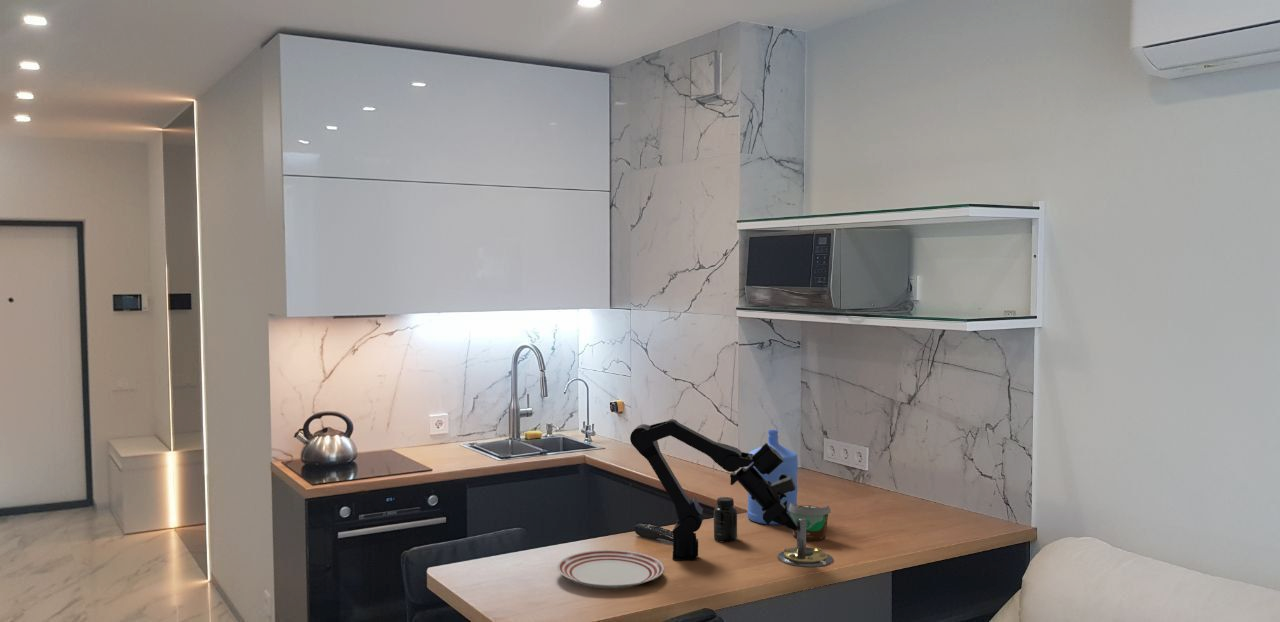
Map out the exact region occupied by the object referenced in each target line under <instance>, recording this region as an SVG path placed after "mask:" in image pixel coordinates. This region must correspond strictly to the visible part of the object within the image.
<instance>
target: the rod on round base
mask: <svg viewBox="0 0 1280 622" xmlns="http://www.w3.org/2000/svg"><path fill="white" fill-rule="evenodd" d="M797 527H798V529H797V539H796V547H789V548H784V550H783V551H784V558H786V559H787V560H790V561H793V562H798V563H819V561H821V560H822V561H825V560H826V559H827V554H828V553H827V552H826V551H824V550H822V548H821V547H815V548H814V547H807V542H806V519H804V518H798V519H797ZM806 548H809V549H812V550H813V554H812V555H806Z"/></svg>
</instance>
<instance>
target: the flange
mask: <svg viewBox="0 0 1280 622" xmlns="http://www.w3.org/2000/svg"><path fill="white" fill-rule="evenodd" d="M809 548H810V547H808V548H806V555H812V554H813V550H812V549H809ZM826 554H827V559H826V560H825V561H822V560H821V561H819V563H798V562H793V561H790V560H787V559H786V558H784V550H783V551H781V552H780V553H778V554H777V559H778V561H780V562H781V561H782V562H781V563H783V562H784V563H783V564H786V565H790V566H794V567H799V568H801V567H802V568H817V567H818V568H820V567H824V566H828V565H830V564H832V563H833V561H834V558H833V556H832V555H830V554H828V553H826Z"/></svg>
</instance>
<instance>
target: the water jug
mask: <svg viewBox="0 0 1280 622" xmlns="http://www.w3.org/2000/svg"><path fill="white" fill-rule="evenodd" d="M767 432H768V435H767V439H768V440H767V442H766V443H767V444H768V445H769V446H771V447H772V448H773V449H774V450H776V451H777V452H778V453H779V454H780V455H781V456H782V458H783V459H784V462H782V463H781V464H780V465H779V466H778V467H777V468H776V469H775V470H774V471H772V472H771V473H770V474H769V475H768V474H761V473H760V472H759V471H758V470H757V468H756V467H755V466H753V467H754V468H755V469H756V470H757V471H758V473H759V474H760V475H761V476H762V477H763V478H764V479H765V480H766V481H767V480H768V481H770V482H771V483H774V482H776V481H779V476H780V475H781V474H784V473H785V474H786V475H787V476H788V477H789V476H791V477H792V479H793V482H794V484H795V486H796V487H795V490H794V491H792V492H787V493H786V494H787V496H786V497H783V498H782V499H781V500H780V501H781V502H782V503H784V502H785V501H786V500H787V501H788V502H787V509H788V511H789V505H790V504H792V505H798V503H797V502H798V490H799V489H798V487H799V486H798V467H799V459H798V454H797V453H796V452H795V451H793V450H791V449H788V448H787V447H785V446H783V445H781V444H779V435H778V434H779V430H773V429H772V430H771V429H770V430H767ZM762 446H763V445H761V446H759V447H757V448H755V449H753V450H750V451H749V454H755V453H756V452H757V451H758V450H759V449H761V447H762ZM752 463H753V462H752ZM752 463H751V464H752ZM751 464H750V465H751ZM750 465H749V466H750ZM749 466H747V467H749ZM761 508H762V507H761V506H760V505H759V504H758V503H757V501H756V500H755V499H754V500H753V499H752V498H751V495H750V494H749V493H748V492H747V510H746V514H747V515H746V516H747V518H748V519H749V520H750V521H752V522H753V523H756V524H761V525H768V524H767V523H766V522H765V521H764V520H763V512H764V511H763V510H762V509H761ZM789 513H790V515H791V512H790V511H789ZM791 517H792V516H791ZM769 525H770V526H771V525H773V526H782V525H781V524H779V523H776V522H774V521H771V522H770V523H769Z"/></svg>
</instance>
